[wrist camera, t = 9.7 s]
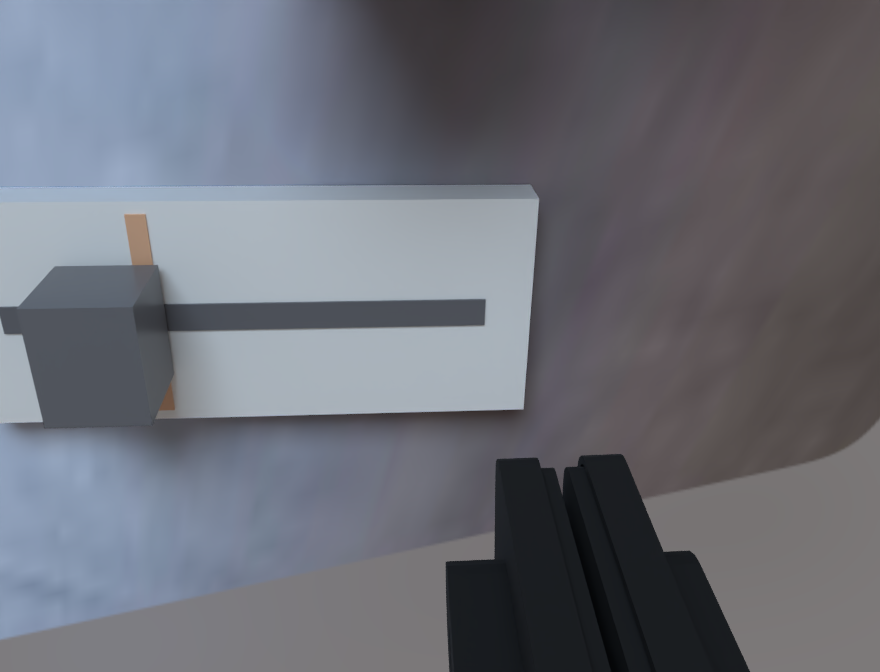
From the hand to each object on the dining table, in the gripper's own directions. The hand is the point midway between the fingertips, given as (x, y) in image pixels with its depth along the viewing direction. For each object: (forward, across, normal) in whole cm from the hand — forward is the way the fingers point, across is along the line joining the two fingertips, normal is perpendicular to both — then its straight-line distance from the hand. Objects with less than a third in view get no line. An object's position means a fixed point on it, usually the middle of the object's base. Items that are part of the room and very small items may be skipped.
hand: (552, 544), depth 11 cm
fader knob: (+22, +14, +7) cm, 27 cm away
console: (+25, +9, +7) cm, 27 cm away
